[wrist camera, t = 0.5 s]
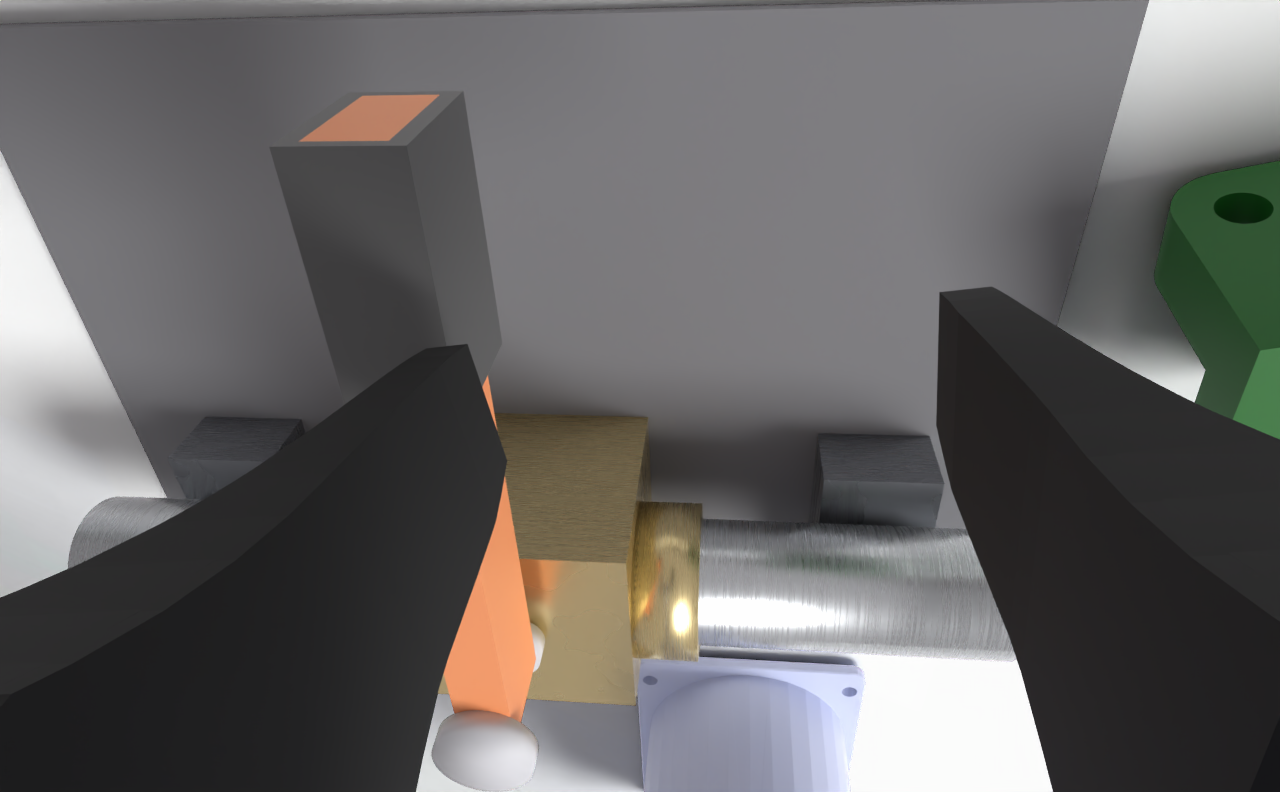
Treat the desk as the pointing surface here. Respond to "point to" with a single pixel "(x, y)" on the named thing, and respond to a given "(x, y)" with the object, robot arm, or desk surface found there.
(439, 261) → the lever
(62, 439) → the desk surface
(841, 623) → the pipe and valve
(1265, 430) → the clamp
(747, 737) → the robot arm
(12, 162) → the pipe mat
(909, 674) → the desk surface
